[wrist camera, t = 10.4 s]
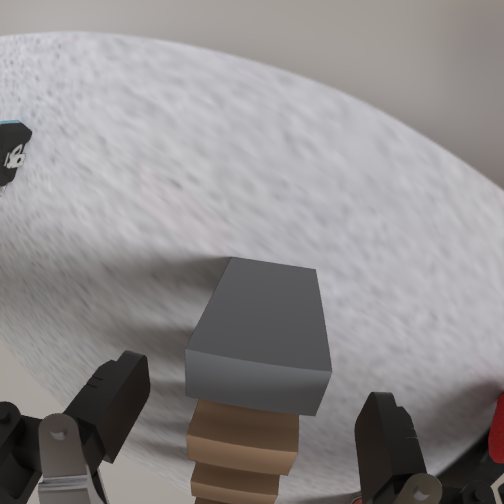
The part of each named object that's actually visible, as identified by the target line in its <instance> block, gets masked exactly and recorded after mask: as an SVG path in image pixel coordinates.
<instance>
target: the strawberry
mask: <svg viewBox="0 0 504 504" xmlns="http://www.w3.org/2000/svg"><path fill="white" fill-rule="evenodd" d="M488 442H489V455H490V457H491V458H492V459H493V460H494V461H495V462H496V463H504V393H503V394H501V395H500V397H499V398H498V401H497V407H496V410H495V414H494V417H493V420H492V425H491V429H490V434H489V438H488Z"/></svg>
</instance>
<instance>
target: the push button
mask: <svg viewBox="0 0 504 504" xmlns="http://www.w3.org/2000/svg"><path fill="white" fill-rule="evenodd" d="M31 135H32V131H31V130H30V129H28V128H27V127H26V126H25V125H24V124H22V123H21V122H20V121H19V120H11V121H0V189H1V188H2V192H1V190H0V196H1V197H2V196H3V194H4V190H5V187H6V186H7V183H8V182H11V181H12V180H13V179H14V177H15V174H16V171H17V167H19V166H21V165H22V164H23V161H24V158H25V154H22V152H23V149H24V146H25V143H26V142H28V141H29V140H30V138H31ZM20 158H21V161H20ZM19 161H20V162H19Z"/></svg>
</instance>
